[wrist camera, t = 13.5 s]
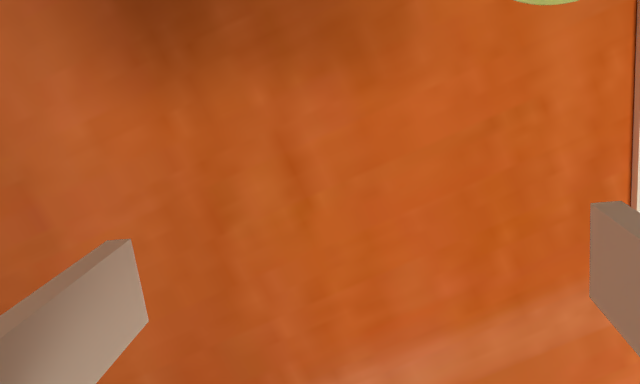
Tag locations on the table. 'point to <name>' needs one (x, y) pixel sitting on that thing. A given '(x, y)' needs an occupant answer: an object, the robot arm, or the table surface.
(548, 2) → the plant pot
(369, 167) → the table surface
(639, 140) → the tray
